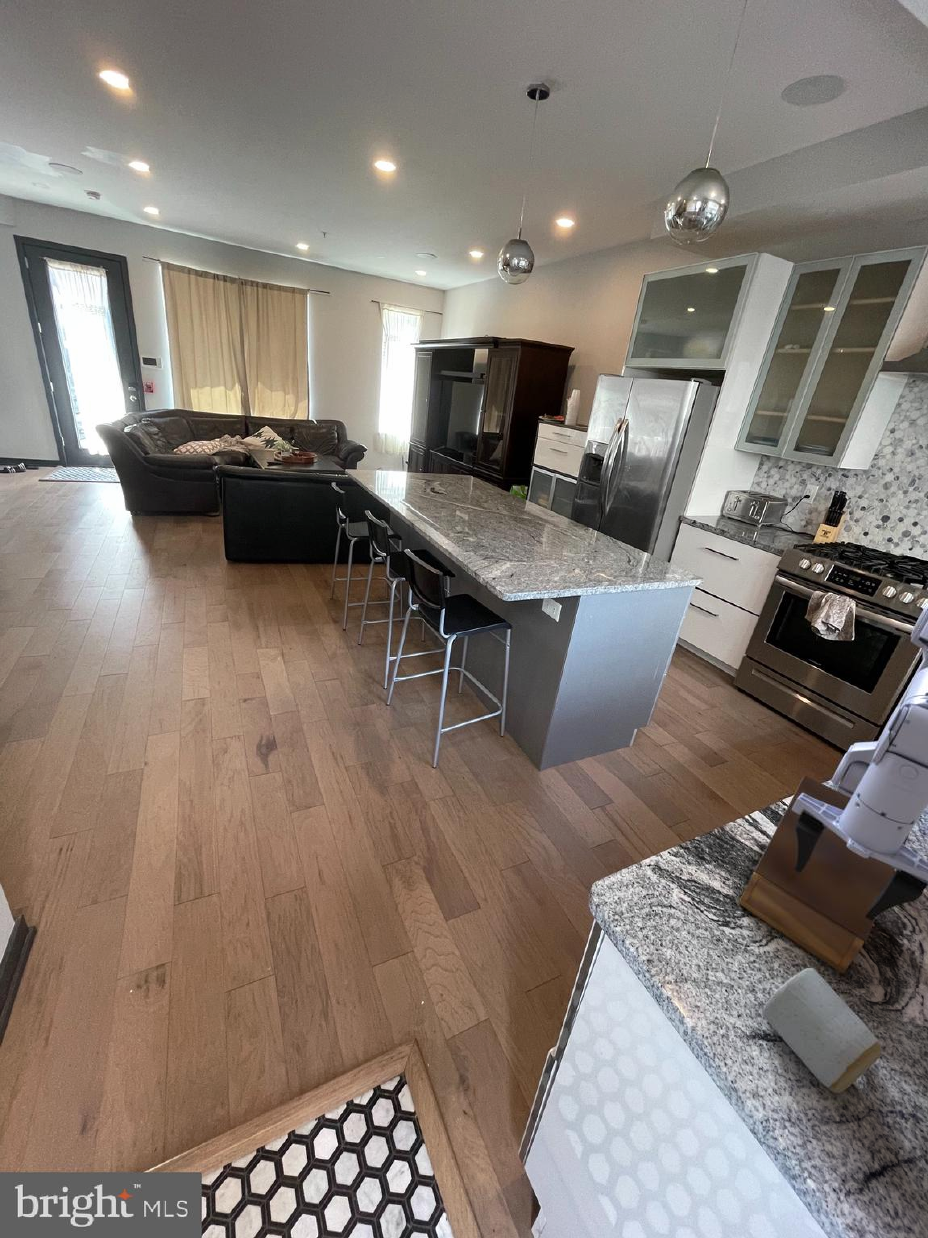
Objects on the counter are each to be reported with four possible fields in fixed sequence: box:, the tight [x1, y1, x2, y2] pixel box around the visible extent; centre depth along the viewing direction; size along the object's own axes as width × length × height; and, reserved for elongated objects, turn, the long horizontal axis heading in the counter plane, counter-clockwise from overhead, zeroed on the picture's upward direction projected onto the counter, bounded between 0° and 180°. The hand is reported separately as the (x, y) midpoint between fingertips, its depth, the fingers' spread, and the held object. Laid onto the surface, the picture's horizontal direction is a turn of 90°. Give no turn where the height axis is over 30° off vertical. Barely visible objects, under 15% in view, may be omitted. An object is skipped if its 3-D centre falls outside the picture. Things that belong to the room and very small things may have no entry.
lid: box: [753, 774, 910, 942], centre depth 67 cm, size 16×13×1 cm
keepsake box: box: [738, 871, 865, 975], centre depth 71 cm, size 16×13×6 cm
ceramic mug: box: [761, 967, 883, 1094], centre depth 54 cm, size 11×8×8 cm
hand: (833, 890), depth 62 cm, fingers open, 7 cm apart
